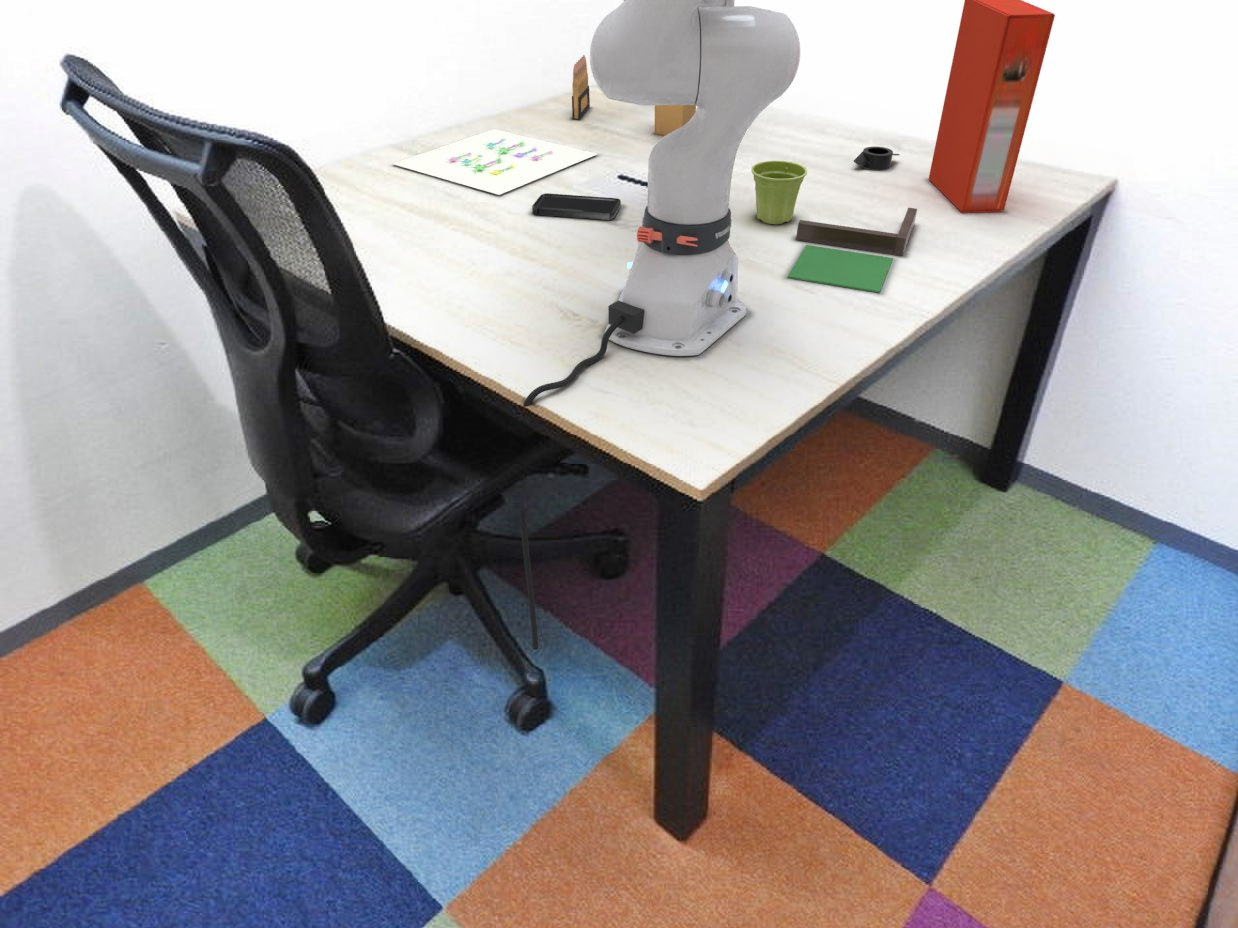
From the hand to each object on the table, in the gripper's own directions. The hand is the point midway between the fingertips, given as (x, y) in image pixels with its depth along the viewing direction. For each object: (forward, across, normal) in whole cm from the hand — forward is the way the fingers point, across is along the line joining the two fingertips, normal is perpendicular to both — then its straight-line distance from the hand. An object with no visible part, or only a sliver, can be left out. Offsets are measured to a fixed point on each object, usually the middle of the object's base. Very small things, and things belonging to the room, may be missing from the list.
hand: (696, 69), depth 145 cm
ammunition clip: (+23, +42, +47) cm, 67 cm away
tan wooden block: (+23, +38, +20) cm, 49 cm away
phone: (+23, -12, +17) cm, 31 cm away
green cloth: (+23, -15, -32) cm, 42 cm away
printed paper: (+23, +4, +46) cm, 51 cm away
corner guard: (+23, 0, -31) cm, 38 cm away
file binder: (+23, +27, -44) cm, 57 cm away
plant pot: (+23, 0, -16) cm, 28 cm away
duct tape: (+23, +37, -25) cm, 50 cm away
